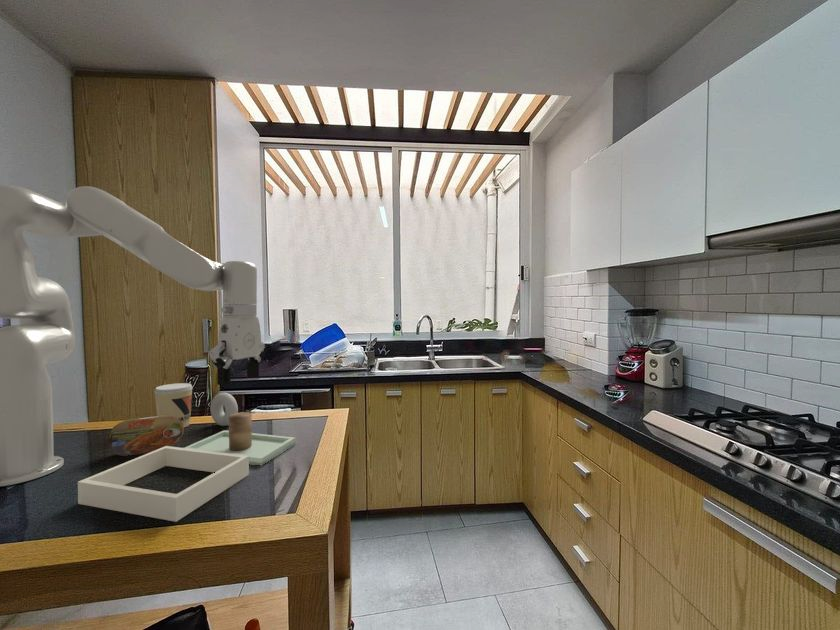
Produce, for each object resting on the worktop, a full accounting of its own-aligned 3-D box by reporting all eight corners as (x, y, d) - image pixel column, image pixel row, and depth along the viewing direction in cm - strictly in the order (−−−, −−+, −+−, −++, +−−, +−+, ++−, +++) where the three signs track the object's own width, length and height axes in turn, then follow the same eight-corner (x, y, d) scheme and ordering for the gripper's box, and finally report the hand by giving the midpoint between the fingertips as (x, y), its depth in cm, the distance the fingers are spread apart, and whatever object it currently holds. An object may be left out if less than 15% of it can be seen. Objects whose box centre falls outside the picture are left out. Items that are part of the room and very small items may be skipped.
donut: (240, 426, 105) (240, 393, 105) (230, 430, 102) (230, 395, 102) (218, 421, 109) (218, 389, 109) (207, 425, 106) (207, 392, 106)
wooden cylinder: (224, 450, 86) (224, 417, 86) (239, 442, 91) (239, 411, 90) (241, 452, 85) (241, 419, 84) (256, 444, 89) (255, 413, 89)
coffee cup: (178, 431, 100) (178, 390, 100) (146, 431, 101) (146, 389, 100) (200, 421, 110) (199, 382, 109) (170, 421, 110) (169, 382, 110)
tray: (182, 456, 84) (181, 448, 84) (224, 436, 97) (224, 430, 97) (261, 466, 79) (261, 458, 79) (295, 444, 91) (295, 437, 91)
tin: (106, 458, 83) (105, 423, 83) (111, 453, 86) (111, 419, 85) (182, 448, 89) (182, 415, 89) (185, 444, 92) (184, 411, 91)
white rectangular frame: (78, 503, 64) (77, 481, 64) (166, 463, 80) (166, 445, 80) (176, 521, 58) (175, 498, 58) (248, 474, 75) (248, 455, 75)
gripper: (225, 312, 78) (224, 389, 78) (275, 312, 95) (274, 375, 95) (197, 311, 80) (197, 387, 80) (251, 311, 96) (250, 374, 97)
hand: (239, 381), depth 87 cm, fingers open, 9 cm apart
